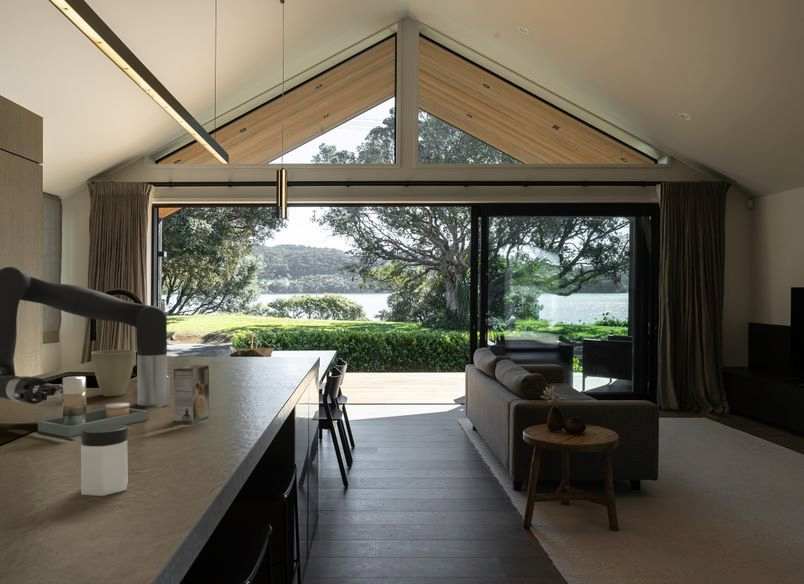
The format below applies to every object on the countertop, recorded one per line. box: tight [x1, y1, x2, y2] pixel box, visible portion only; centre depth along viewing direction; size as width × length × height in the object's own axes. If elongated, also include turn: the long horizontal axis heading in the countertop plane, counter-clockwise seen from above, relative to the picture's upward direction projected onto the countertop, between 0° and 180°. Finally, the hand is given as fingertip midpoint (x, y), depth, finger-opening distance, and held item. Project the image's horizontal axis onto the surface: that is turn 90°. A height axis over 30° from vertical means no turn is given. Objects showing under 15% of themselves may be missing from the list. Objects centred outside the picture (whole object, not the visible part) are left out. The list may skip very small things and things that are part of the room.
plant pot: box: [90, 349, 137, 397], centre depth 229 cm, size 15×15×16 cm
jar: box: [80, 424, 129, 497], centre depth 121 cm, size 9×8×12 cm
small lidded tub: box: [105, 401, 131, 419], centre depth 180 cm, size 6×6×5 cm
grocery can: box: [61, 375, 87, 426], centre depth 169 cm, size 6×6×14 cm
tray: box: [37, 407, 150, 442], centre depth 174 cm, size 24×14×4 cm, turn 150°
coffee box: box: [173, 364, 210, 426], centre depth 183 cm, size 9×6×16 cm
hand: (61, 394), depth 172 cm, fingers open, 8 cm apart
